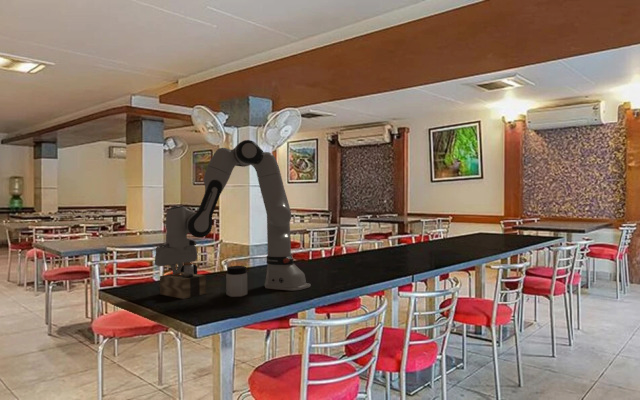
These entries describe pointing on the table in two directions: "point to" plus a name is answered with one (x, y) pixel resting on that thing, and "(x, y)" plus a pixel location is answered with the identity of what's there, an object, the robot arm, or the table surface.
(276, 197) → the robot arm
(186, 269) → the copper domed cylinder
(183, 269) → the mug
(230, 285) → the jar
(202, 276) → the oak block
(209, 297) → the table surface
